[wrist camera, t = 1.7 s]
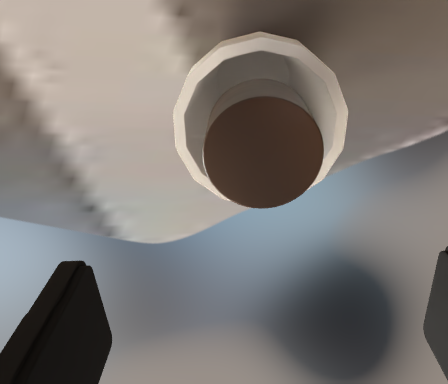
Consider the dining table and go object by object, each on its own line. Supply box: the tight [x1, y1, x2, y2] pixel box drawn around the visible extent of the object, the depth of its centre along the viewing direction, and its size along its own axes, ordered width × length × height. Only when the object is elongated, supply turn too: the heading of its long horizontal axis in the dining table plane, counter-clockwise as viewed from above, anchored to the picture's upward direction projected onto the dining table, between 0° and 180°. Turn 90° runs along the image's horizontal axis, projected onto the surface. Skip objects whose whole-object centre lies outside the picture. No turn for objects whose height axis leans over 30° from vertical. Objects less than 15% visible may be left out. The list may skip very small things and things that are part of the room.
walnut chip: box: [202, 78, 324, 208], centre depth 20 cm, size 6×6×4 cm
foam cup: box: [173, 31, 348, 201], centre depth 27 cm, size 10×9×13 cm
